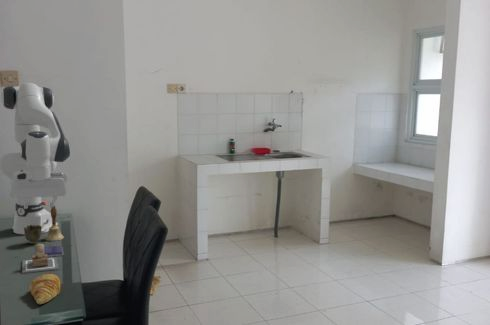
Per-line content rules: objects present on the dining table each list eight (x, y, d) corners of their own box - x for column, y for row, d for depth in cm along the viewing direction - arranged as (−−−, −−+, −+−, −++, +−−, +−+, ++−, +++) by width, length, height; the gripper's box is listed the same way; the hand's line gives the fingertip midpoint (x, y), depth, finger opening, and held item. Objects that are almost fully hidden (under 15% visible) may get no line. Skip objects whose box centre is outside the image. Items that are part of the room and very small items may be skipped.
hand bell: (45, 242, 216) (45, 208, 214) (44, 236, 223) (43, 204, 221) (64, 240, 220) (64, 207, 217) (62, 235, 227) (62, 203, 225)
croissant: (49, 316, 155) (61, 295, 155) (20, 304, 152) (32, 284, 152) (58, 288, 175) (68, 270, 175) (32, 277, 172) (42, 259, 172)
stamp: (32, 262, 189) (32, 243, 188) (47, 261, 191) (46, 242, 190) (32, 267, 184) (32, 248, 183) (47, 266, 186) (47, 246, 185)
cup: (35, 247, 208) (34, 230, 207) (20, 245, 210) (20, 228, 209) (45, 242, 216) (45, 225, 214) (31, 240, 217) (31, 223, 216)
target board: (22, 261, 191) (22, 260, 191) (56, 258, 196) (56, 256, 196) (22, 273, 179) (22, 271, 179) (58, 269, 185) (58, 268, 185)
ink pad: (40, 250, 205) (40, 247, 204) (62, 248, 208) (62, 245, 208) (41, 257, 197) (41, 253, 196) (63, 255, 200) (63, 251, 200)
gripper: (66, 171, 189) (66, 204, 192) (10, 172, 181) (10, 207, 183) (67, 174, 184) (67, 208, 186) (9, 175, 175) (10, 211, 177)
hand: (39, 207), depth 184 cm, fingers open, 8 cm apart
